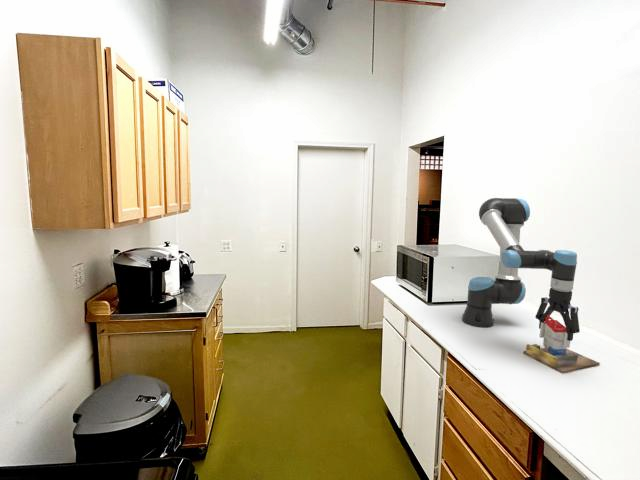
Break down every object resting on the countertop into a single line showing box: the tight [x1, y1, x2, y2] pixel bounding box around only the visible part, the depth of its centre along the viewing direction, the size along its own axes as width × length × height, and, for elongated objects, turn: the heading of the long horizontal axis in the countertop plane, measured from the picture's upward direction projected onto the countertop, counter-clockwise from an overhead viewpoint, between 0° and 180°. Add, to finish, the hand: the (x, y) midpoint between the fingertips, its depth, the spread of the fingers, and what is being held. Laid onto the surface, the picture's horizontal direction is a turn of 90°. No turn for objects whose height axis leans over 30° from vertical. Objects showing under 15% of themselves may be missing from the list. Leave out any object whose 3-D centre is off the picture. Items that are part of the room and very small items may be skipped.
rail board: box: [523, 343, 601, 374], centre depth 146 cm, size 17×21×4 cm
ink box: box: [542, 315, 567, 356], centre depth 144 cm, size 8×5×15 cm, turn 173°
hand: (553, 342), depth 145 cm, fingers closed on ink box, 9 cm apart
